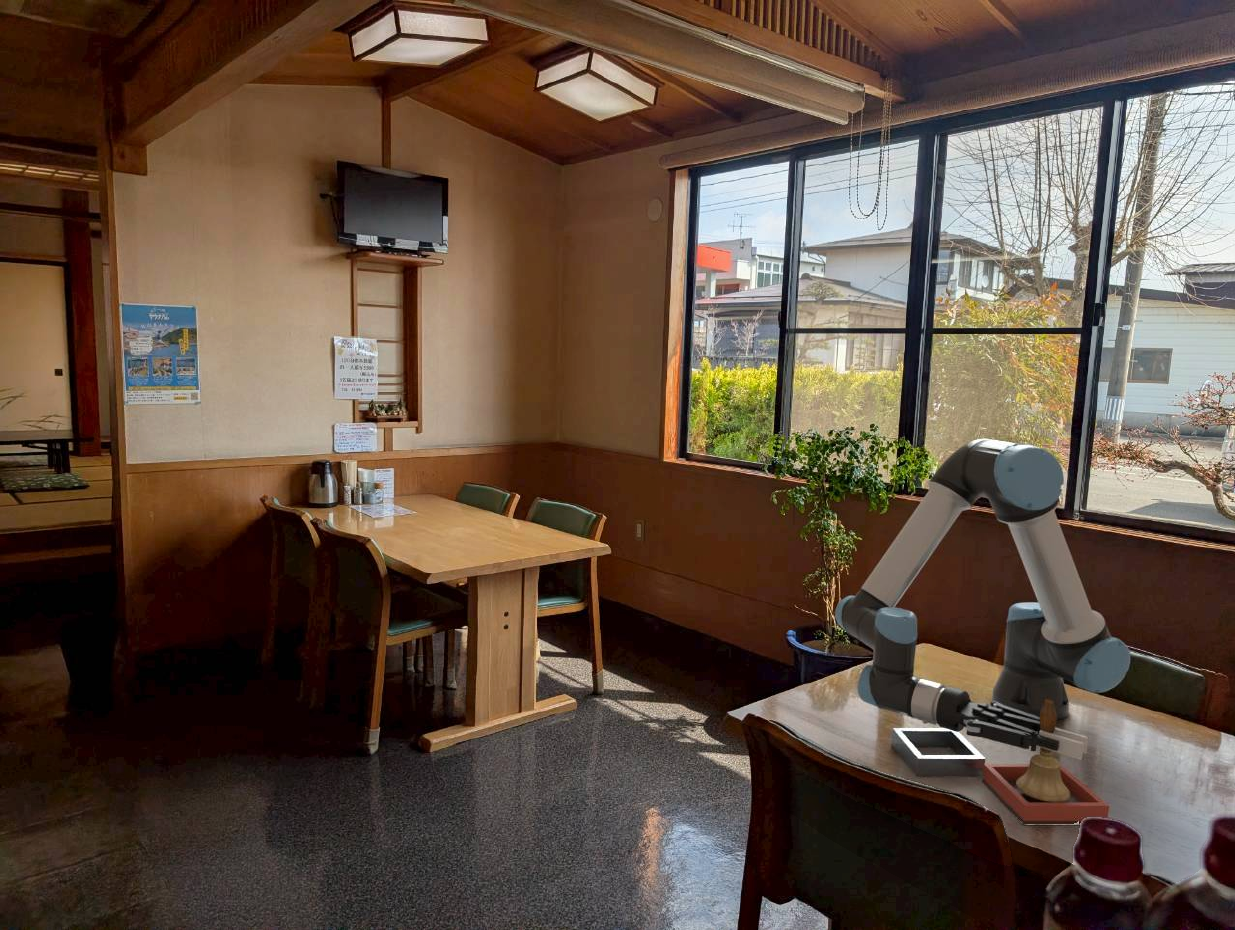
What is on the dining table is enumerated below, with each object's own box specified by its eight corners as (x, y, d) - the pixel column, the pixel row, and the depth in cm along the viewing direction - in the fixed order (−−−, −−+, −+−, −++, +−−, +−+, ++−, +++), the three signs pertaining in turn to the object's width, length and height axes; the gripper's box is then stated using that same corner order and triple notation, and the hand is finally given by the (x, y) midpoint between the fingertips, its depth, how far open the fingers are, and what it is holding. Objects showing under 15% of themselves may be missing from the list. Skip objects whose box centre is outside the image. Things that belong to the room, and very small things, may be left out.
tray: (1058, 781, 149) (1059, 764, 148) (1107, 825, 135) (1109, 805, 134) (982, 781, 148) (983, 763, 148) (1023, 825, 134) (1025, 805, 134)
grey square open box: (953, 745, 162) (954, 728, 162) (983, 776, 150) (985, 758, 149) (891, 745, 162) (892, 728, 161) (917, 776, 149) (918, 758, 149)
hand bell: (1024, 799, 138) (1033, 708, 136) (1009, 775, 146) (1017, 689, 144) (1078, 805, 136) (1087, 713, 135) (1059, 780, 145) (1068, 693, 143)
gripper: (956, 712, 158) (1093, 754, 142) (923, 738, 147) (1069, 786, 131) (959, 675, 157) (1098, 712, 141) (926, 698, 146) (1074, 741, 130)
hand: (1084, 748), depth 136 cm, fingers closed on hand bell, 2 cm apart
